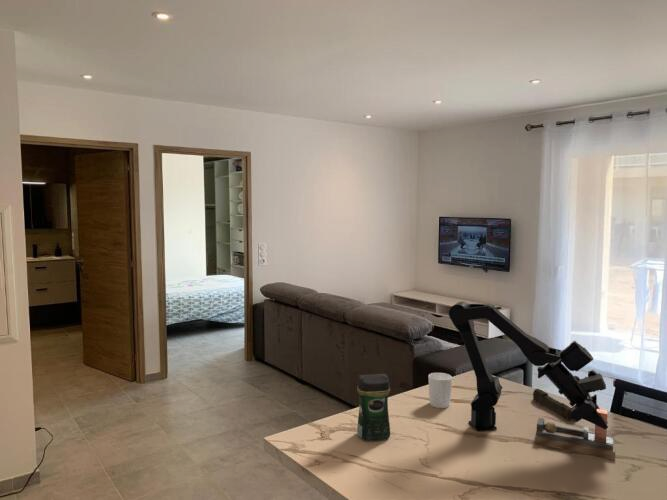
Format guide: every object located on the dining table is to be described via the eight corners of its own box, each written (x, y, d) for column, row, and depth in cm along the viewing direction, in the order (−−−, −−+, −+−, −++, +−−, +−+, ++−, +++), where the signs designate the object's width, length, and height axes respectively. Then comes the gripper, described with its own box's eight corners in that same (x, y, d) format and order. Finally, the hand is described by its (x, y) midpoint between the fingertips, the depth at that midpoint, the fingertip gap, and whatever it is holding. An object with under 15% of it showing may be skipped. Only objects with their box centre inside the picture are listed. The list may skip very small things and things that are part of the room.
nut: (548, 436, 142) (549, 425, 141) (541, 431, 145) (542, 420, 145) (558, 435, 142) (559, 424, 142) (551, 430, 145) (552, 419, 145)
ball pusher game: (534, 443, 142) (535, 426, 141) (537, 431, 149) (538, 415, 149) (614, 459, 132) (615, 441, 132) (613, 445, 140) (614, 428, 140)
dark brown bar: (578, 420, 158) (579, 406, 157) (567, 421, 157) (568, 407, 156) (540, 399, 176) (540, 386, 176) (530, 400, 175) (530, 387, 175)
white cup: (453, 409, 166) (454, 380, 165) (430, 409, 166) (430, 380, 165) (448, 400, 174) (449, 372, 173) (426, 400, 174) (426, 372, 173)
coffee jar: (385, 429, 151) (386, 369, 149) (392, 441, 143) (393, 378, 141) (354, 431, 149) (355, 371, 148) (359, 443, 141) (360, 380, 140)
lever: (583, 441, 138) (584, 411, 137) (583, 435, 142) (584, 405, 141) (612, 447, 134) (614, 416, 134) (612, 441, 138) (613, 410, 138)
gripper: (586, 373, 130) (633, 422, 125) (588, 355, 146) (629, 398, 142) (553, 397, 134) (597, 445, 130) (557, 377, 150) (597, 419, 146)
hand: (606, 426), depth 137 cm, fingers closed on lever, 3 cm apart
